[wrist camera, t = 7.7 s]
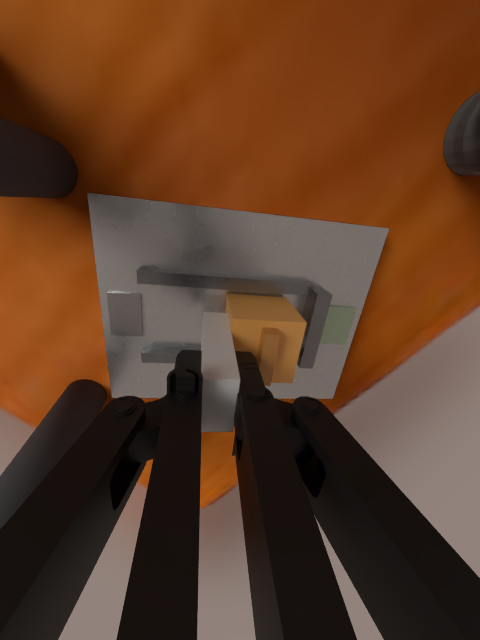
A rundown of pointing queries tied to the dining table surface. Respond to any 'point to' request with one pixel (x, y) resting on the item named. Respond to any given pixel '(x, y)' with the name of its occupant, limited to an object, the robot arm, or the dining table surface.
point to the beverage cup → (464, 138)
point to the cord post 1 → (33, 164)
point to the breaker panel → (223, 284)
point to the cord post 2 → (49, 443)
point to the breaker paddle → (267, 333)
